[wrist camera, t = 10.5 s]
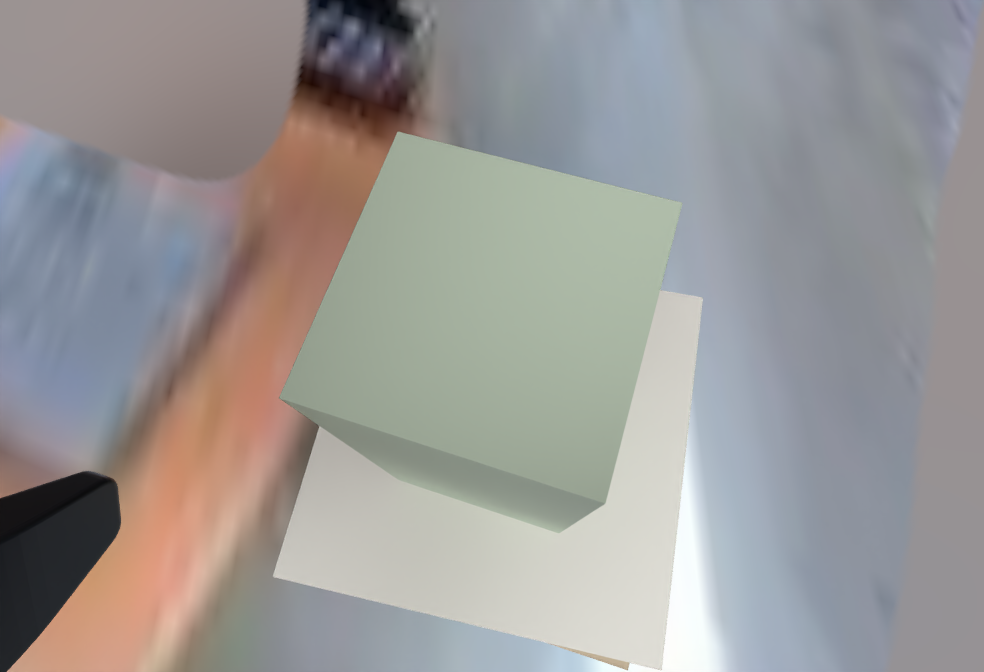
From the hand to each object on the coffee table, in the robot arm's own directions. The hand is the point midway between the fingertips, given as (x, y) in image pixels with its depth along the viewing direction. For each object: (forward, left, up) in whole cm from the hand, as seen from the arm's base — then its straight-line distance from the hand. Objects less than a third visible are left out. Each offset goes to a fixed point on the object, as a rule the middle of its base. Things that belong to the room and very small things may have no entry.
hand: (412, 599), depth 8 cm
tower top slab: (+4, 0, -11) cm, 11 cm away
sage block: (+4, 0, -8) cm, 9 cm away
